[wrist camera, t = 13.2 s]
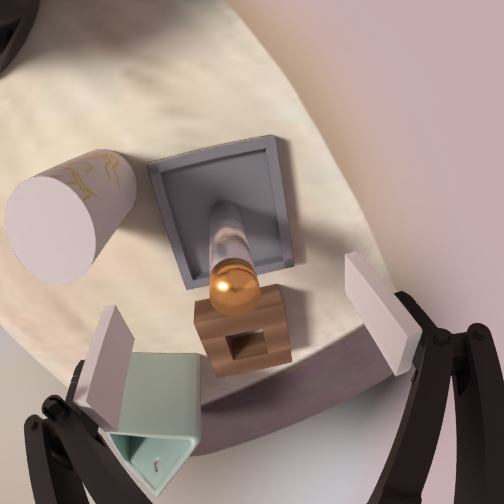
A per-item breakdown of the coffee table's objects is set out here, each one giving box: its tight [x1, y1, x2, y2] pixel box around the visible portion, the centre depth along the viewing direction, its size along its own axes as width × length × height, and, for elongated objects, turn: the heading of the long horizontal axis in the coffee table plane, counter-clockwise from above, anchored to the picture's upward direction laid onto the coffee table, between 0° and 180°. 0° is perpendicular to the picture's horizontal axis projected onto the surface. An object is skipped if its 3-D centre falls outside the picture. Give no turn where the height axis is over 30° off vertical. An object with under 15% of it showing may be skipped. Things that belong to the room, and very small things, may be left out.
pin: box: [210, 201, 261, 316], centre depth 23 cm, size 3×3×14 cm
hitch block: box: [194, 284, 292, 378], centre depth 35 cm, size 10×10×4 cm
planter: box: [107, 352, 201, 496], centre depth 30 cm, size 16×8×20 cm, turn 130°
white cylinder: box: [5, 149, 137, 285], centre depth 21 cm, size 8×8×12 cm
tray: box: [147, 135, 294, 290], centre depth 29 cm, size 14×12×2 cm
